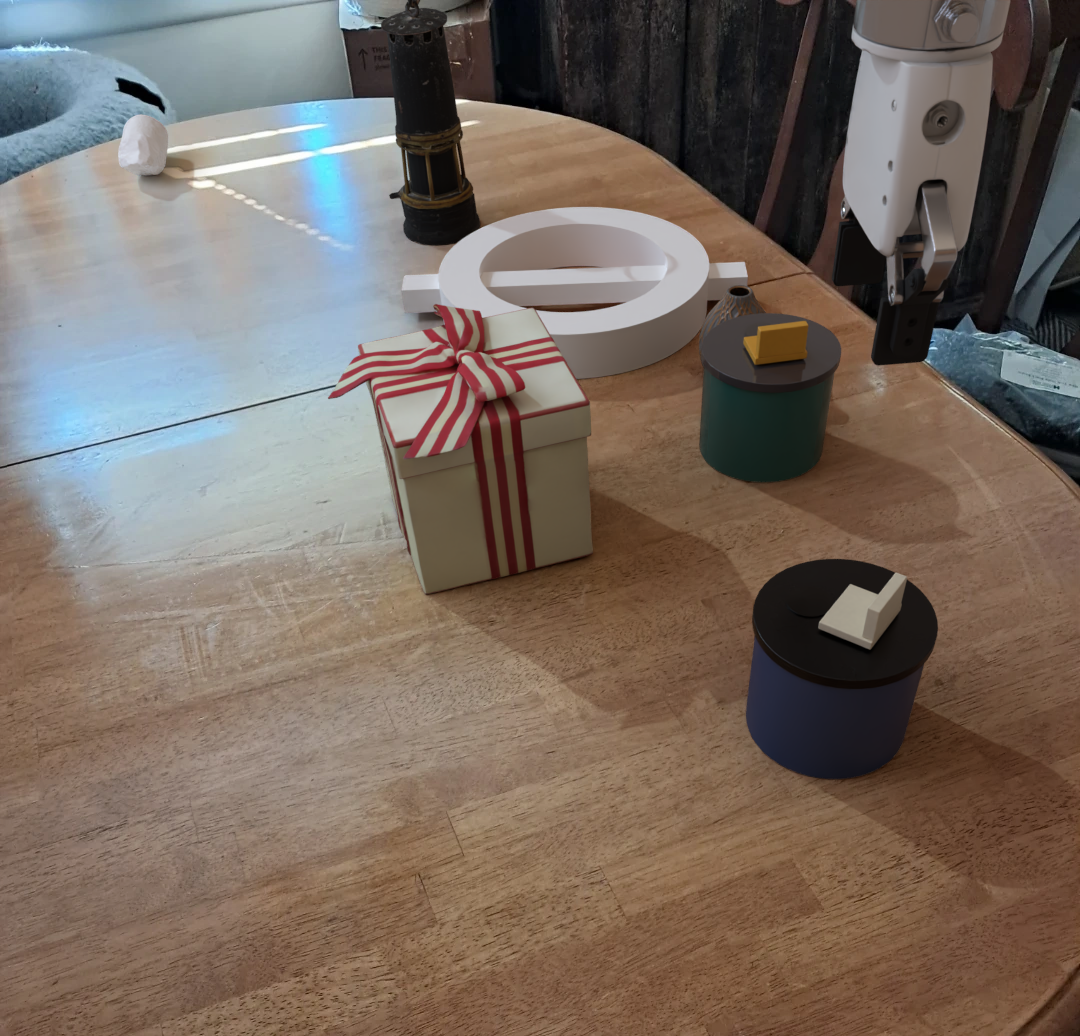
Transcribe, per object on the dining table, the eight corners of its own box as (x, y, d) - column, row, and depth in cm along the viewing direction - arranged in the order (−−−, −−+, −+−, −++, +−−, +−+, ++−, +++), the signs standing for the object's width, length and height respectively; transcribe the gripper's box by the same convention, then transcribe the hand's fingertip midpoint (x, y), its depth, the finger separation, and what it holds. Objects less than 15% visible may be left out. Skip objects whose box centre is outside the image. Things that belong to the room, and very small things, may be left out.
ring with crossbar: (390, 315, 124) (383, 273, 120) (574, 226, 136) (573, 185, 133) (574, 411, 109) (572, 366, 106) (761, 301, 122) (765, 258, 118)
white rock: (123, 194, 149) (109, 149, 145) (129, 158, 157) (116, 115, 153) (170, 189, 150) (157, 144, 146) (173, 153, 158) (161, 109, 154)
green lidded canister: (843, 475, 100) (861, 373, 93) (714, 492, 100) (721, 391, 92) (803, 403, 108) (816, 304, 101) (682, 419, 107) (686, 321, 100)
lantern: (388, 229, 138) (344, -65, 116) (447, 204, 142) (415, -85, 120) (435, 252, 133) (399, -50, 111) (495, 226, 137) (471, -71, 115)
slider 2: (900, 610, 74) (909, 574, 71) (870, 650, 71) (878, 614, 69) (848, 590, 75) (855, 554, 73) (817, 628, 73) (823, 593, 71)
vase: (688, 363, 114) (693, 278, 108) (756, 353, 115) (764, 268, 108) (708, 400, 109) (713, 314, 103) (778, 389, 110) (788, 303, 104)
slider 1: (806, 358, 95) (811, 324, 93) (754, 365, 95) (758, 331, 92) (793, 337, 97) (797, 303, 95) (742, 343, 97) (745, 310, 95)
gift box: (344, 507, 101) (304, 324, 88) (540, 454, 105) (528, 272, 92) (398, 627, 90) (361, 439, 77) (615, 564, 94) (613, 374, 81)
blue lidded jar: (936, 702, 82) (967, 597, 74) (864, 809, 76) (890, 706, 68) (789, 641, 87) (805, 536, 79) (710, 736, 81) (719, 633, 73)
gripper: (1068, 58, 53) (982, 390, 65) (952, -47, 64) (898, 252, 77) (904, 71, 53) (850, 401, 65) (818, -36, 64) (786, 261, 77)
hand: (876, 320), depth 71 cm, fingers open, 9 cm apart
